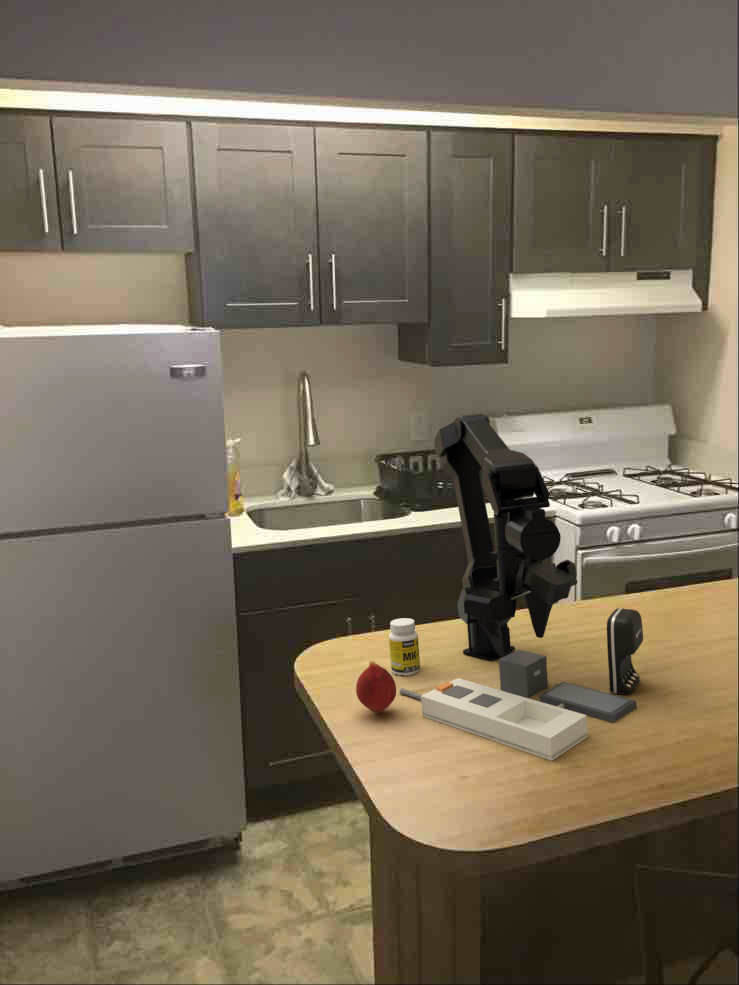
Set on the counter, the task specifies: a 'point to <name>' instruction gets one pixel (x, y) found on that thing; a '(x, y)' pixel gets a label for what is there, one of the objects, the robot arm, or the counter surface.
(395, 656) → the supplement bottle
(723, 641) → the counter surface
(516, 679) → the charger cube
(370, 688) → the onion
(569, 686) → the phone
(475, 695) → the power strip
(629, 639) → the battery charger
